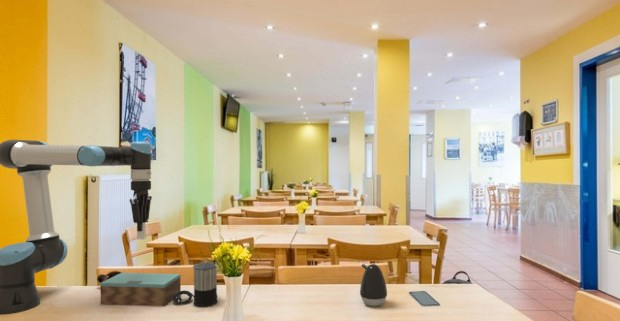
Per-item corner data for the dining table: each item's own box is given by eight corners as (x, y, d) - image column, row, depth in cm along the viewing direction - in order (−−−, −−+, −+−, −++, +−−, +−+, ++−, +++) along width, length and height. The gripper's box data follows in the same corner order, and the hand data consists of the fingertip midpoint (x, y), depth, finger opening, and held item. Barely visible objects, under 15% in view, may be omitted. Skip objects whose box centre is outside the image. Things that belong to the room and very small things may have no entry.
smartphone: (421, 305, 148) (408, 291, 163) (422, 308, 148) (408, 294, 163) (440, 304, 149) (425, 290, 164) (440, 307, 149) (425, 293, 164)
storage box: (100, 304, 153) (100, 286, 153) (121, 292, 167) (121, 275, 167) (164, 306, 150) (164, 287, 150) (180, 293, 164) (180, 277, 164)
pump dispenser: (370, 297, 158) (370, 259, 158) (392, 303, 151) (392, 264, 151) (354, 304, 151) (353, 264, 151) (376, 311, 144) (376, 269, 144)
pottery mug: (128, 284, 179) (129, 271, 176) (118, 300, 171) (119, 286, 167) (101, 278, 178) (101, 265, 175) (90, 294, 170) (90, 280, 166)
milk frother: (220, 304, 152) (220, 266, 152) (178, 313, 144) (178, 272, 144) (210, 294, 164) (209, 258, 164) (170, 301, 156) (170, 263, 156)
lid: (100, 286, 153) (100, 282, 153) (121, 275, 167) (121, 272, 167) (164, 287, 150) (164, 283, 150) (180, 277, 164) (180, 273, 164)
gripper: (141, 181, 152) (141, 242, 152) (157, 179, 165) (158, 236, 165) (122, 181, 153) (123, 242, 153) (140, 179, 166) (141, 235, 166)
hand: (141, 238), depth 159 cm, fingers closed
